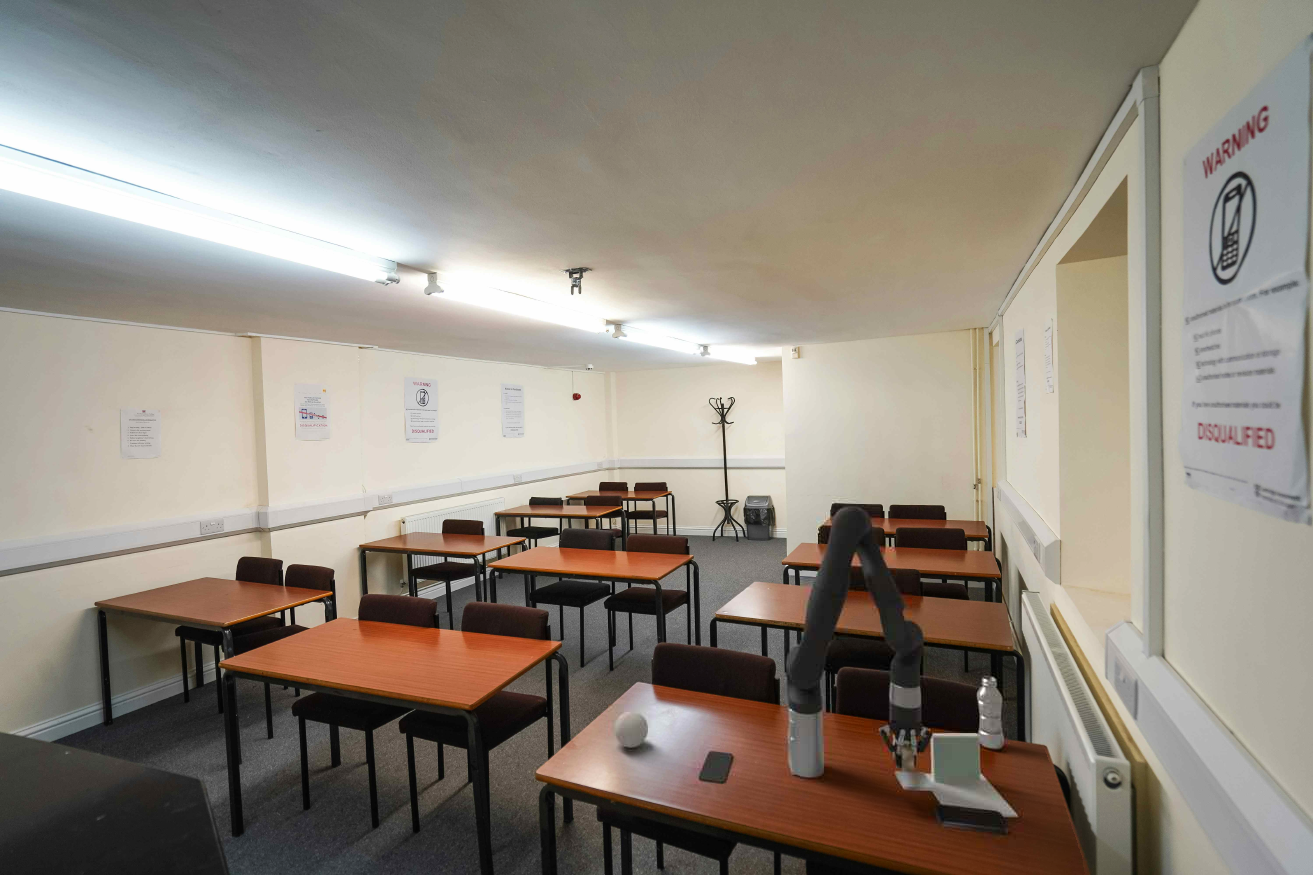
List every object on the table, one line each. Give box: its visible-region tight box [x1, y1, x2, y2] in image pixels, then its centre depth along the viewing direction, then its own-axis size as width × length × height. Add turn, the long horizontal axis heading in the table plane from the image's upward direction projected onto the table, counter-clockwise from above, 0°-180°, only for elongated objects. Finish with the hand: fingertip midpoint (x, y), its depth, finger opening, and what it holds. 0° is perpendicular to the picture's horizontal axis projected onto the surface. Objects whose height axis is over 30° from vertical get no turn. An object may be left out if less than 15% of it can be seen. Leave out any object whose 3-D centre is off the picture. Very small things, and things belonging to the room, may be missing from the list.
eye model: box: [614, 710, 649, 749], centre depth 183 cm, size 10×10×10 cm
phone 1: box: [698, 750, 734, 784], centre depth 170 cm, size 7×1×15 cm
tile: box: [930, 732, 981, 782], centre depth 160 cm, size 12×2×12 cm, turn 87°
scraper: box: [892, 733, 934, 792], centre depth 154 cm, size 7×16×6 cm, turn 176°
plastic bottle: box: [976, 675, 1005, 750], centre depth 177 cm, size 6×7×20 cm
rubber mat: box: [924, 773, 1019, 818], centre depth 154 cm, size 16×18×1 cm
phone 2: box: [933, 803, 1010, 835], centre depth 144 cm, size 8×1×15 cm
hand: (905, 766), depth 156 cm, fingers closed on scraper, 2 cm apart
